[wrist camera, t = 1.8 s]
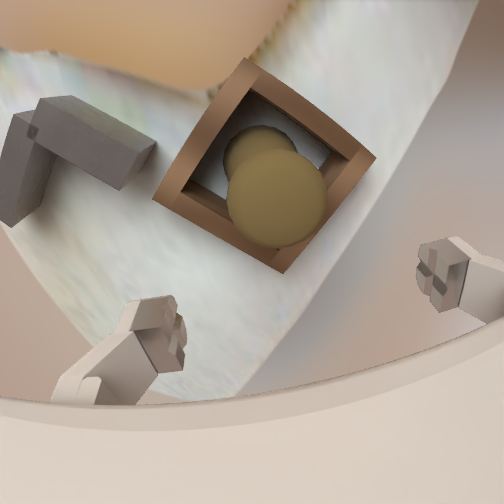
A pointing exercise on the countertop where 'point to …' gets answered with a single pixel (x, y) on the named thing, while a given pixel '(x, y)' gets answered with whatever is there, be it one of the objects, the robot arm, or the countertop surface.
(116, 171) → the v block
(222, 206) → the sleeve
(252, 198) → the cork
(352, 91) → the countertop surface
